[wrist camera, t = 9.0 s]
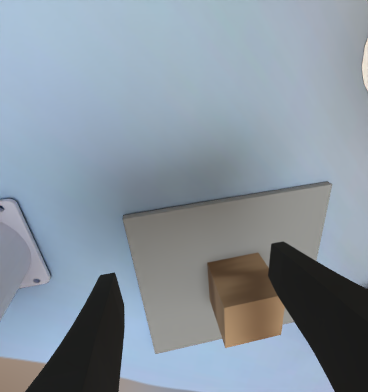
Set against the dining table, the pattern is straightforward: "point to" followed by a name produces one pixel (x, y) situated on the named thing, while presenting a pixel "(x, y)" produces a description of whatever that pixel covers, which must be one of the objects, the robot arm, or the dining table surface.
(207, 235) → the grey mat
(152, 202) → the dining table surface
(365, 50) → the wineglass
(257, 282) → the walnut cube
